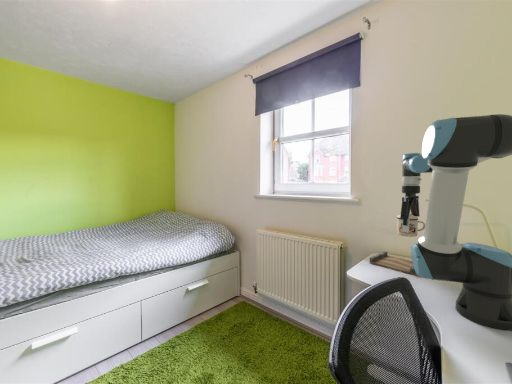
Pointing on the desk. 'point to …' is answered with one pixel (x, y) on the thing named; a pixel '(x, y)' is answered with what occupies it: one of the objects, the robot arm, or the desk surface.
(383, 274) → the desk surface
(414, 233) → the teacup with lid
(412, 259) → the robot arm
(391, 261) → the rail board
